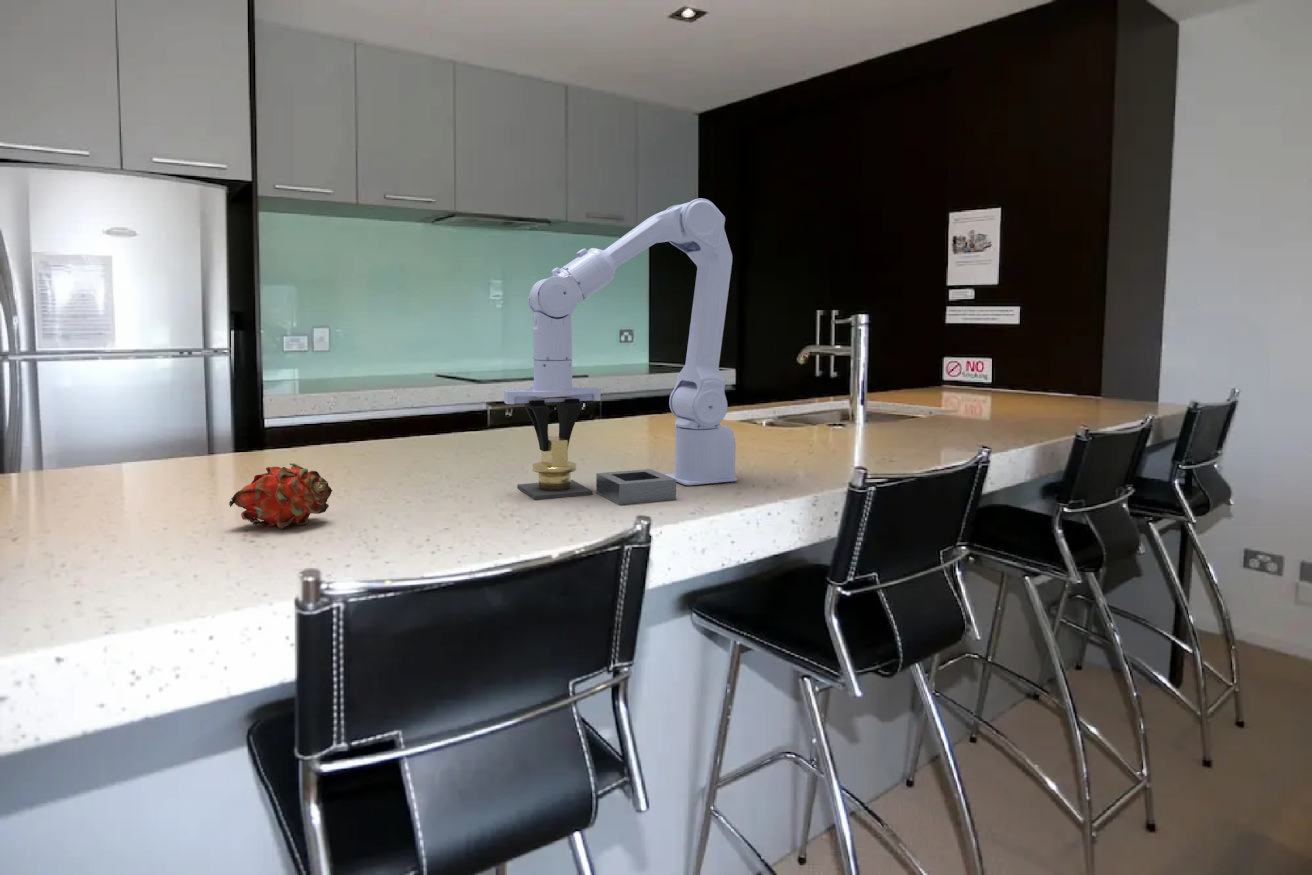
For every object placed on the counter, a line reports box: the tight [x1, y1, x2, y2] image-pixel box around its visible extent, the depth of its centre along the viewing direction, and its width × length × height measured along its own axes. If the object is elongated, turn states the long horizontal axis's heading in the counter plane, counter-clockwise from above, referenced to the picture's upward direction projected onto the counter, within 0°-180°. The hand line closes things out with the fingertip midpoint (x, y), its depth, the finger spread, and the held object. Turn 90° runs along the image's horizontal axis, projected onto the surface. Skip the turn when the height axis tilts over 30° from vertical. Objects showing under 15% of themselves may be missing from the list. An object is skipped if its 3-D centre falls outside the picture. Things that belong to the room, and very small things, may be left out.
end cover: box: [532, 435, 577, 491], centre depth 128 cm, size 7×7×8 cm
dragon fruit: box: [228, 462, 333, 530], centre depth 107 cm, size 8×8×12 cm
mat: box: [517, 479, 594, 501], centre depth 129 cm, size 9×9×1 cm
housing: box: [595, 468, 677, 506], centre depth 125 cm, size 9×9×3 cm
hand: (553, 449), depth 128 cm, fingers closed on end cover, 2 cm apart
